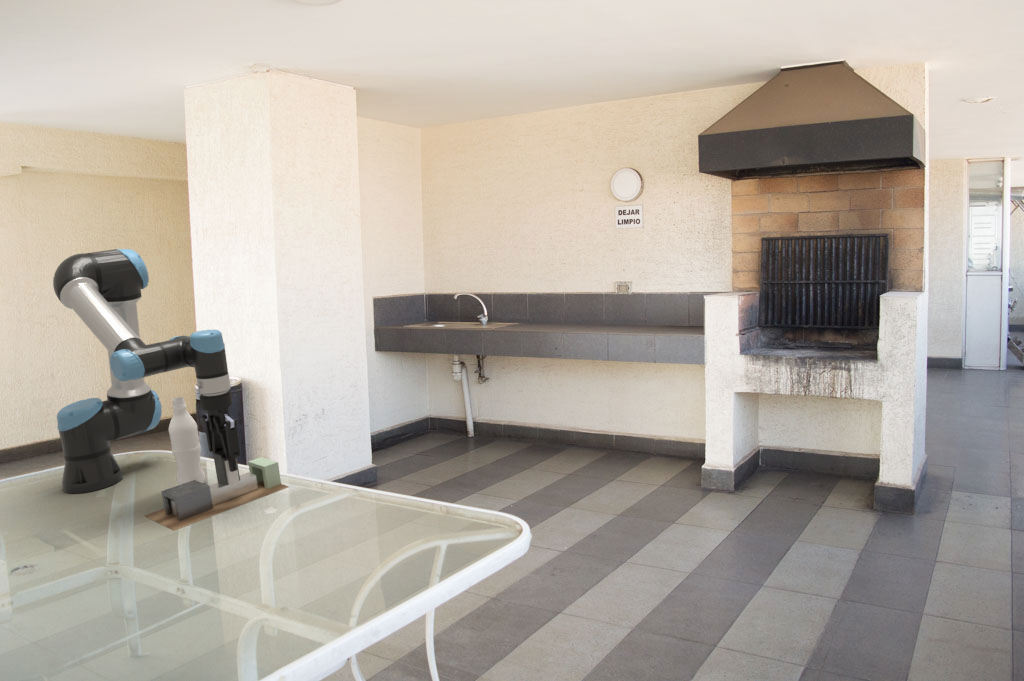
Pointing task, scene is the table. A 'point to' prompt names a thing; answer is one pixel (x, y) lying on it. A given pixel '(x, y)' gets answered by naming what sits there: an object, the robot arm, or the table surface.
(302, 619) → the table surface
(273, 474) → the socket block
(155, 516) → the base board
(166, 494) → the sleeve
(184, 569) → the table surface
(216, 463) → the rod
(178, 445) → the water bottle
